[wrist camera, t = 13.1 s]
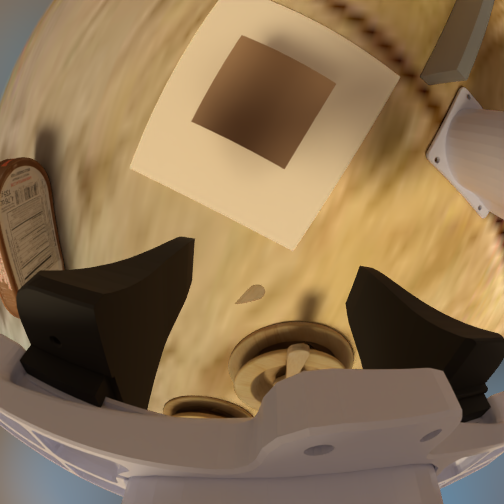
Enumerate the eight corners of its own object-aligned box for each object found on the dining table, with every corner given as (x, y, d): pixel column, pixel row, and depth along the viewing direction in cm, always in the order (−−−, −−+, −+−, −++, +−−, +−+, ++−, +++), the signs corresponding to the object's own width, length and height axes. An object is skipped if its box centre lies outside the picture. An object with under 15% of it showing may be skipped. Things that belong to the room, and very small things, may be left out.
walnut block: (314, 96, 16) (336, 83, 11) (278, 156, 18) (284, 169, 13) (249, 62, 15) (241, 35, 10) (213, 123, 17) (191, 121, 12)
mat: (398, 77, 15) (400, 77, 15) (292, 249, 21) (293, 251, 21) (229, -12, 13) (229, -14, 12) (131, 167, 19) (129, 168, 19)
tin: (33, 151, 18) (-33, 172, 11) (53, 147, 18) (-16, 168, 11) (57, 288, 25) (14, 334, 17) (77, 292, 25) (34, 343, 17)
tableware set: (258, 273, 23) (255, 317, 18) (388, 361, 28) (402, 400, 22) (134, 402, 34) (123, 433, 29) (239, 447, 39) (237, 476, 33)
